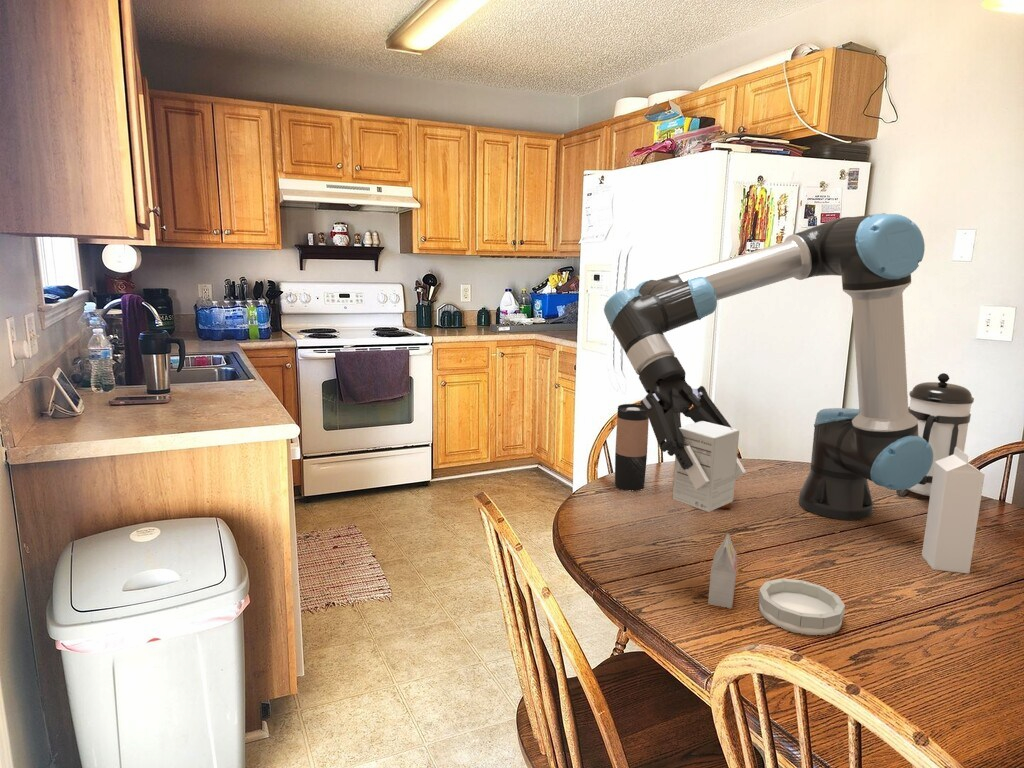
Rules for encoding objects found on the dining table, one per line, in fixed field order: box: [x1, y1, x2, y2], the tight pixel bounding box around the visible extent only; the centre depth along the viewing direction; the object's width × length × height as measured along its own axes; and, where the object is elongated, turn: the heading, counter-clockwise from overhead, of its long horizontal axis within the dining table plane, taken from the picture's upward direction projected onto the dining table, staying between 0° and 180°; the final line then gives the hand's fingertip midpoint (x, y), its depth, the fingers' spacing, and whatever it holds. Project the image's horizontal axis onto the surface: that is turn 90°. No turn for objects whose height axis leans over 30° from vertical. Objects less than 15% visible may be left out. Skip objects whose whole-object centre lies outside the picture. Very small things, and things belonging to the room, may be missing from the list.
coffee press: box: [895, 372, 975, 497], centre depth 156 cm, size 17×16×30 cm
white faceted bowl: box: [758, 578, 846, 637], centre depth 104 cm, size 12×12×3 cm
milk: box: [921, 447, 985, 574], centre depth 121 cm, size 6×6×22 cm
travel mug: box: [614, 403, 650, 492], centre depth 161 cm, size 8×8×20 cm
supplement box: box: [672, 421, 740, 513], centre depth 109 cm, size 7×7×13 cm
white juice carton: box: [707, 532, 738, 609], centre depth 109 cm, size 4×7×10 cm, turn 158°
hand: (721, 480), depth 107 cm, fingers closed on supplement box, 8 cm apart
